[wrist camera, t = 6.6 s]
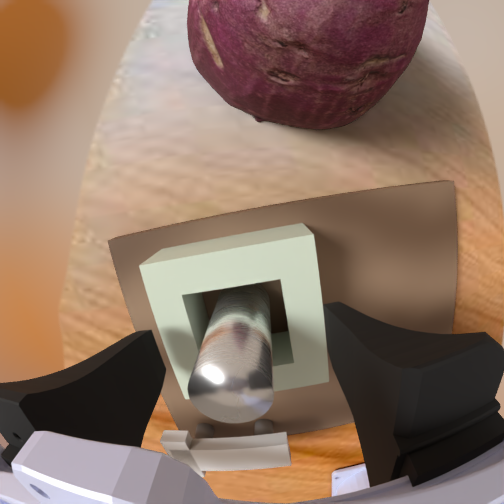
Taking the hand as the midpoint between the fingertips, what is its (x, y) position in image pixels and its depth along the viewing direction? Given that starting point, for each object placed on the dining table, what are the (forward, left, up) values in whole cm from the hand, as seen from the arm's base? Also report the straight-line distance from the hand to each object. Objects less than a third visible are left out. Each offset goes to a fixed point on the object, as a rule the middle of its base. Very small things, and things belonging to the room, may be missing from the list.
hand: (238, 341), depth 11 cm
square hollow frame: (0, 0, -5) cm, 5 cm away
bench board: (-3, -3, -5) cm, 6 cm away
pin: (0, 0, -4) cm, 4 cm away
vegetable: (+13, -5, -5) cm, 15 cm away
